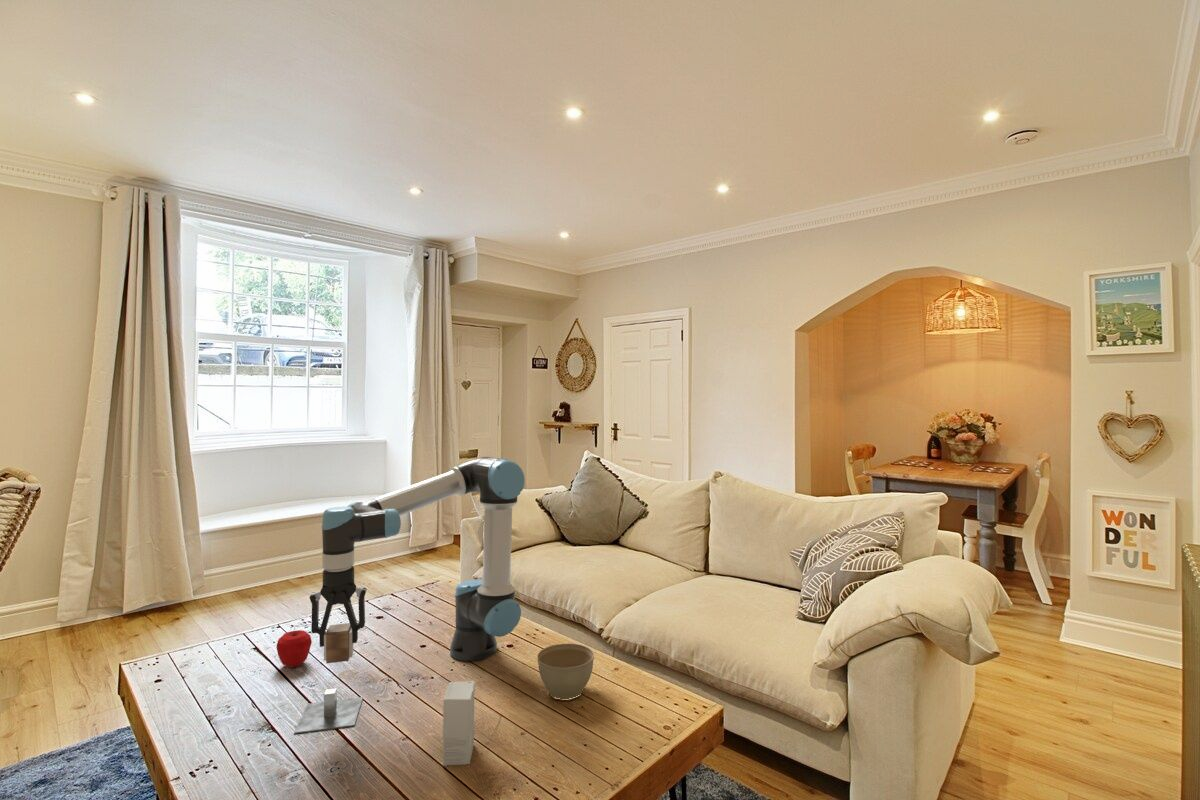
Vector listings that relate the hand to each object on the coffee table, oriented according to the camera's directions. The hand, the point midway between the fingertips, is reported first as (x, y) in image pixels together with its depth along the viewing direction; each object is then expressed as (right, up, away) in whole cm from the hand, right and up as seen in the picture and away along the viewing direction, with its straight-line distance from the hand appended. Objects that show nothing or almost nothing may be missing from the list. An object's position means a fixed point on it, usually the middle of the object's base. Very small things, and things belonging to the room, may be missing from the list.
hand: (338, 656), depth 150 cm
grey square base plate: (-3, -17, +2) cm, 17 cm away
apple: (-28, -17, +31) cm, 45 cm away
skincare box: (+35, -17, -14) cm, 41 cm away
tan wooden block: (0, 0, 0) cm, 0 cm away
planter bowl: (+58, -17, +14) cm, 62 cm away
